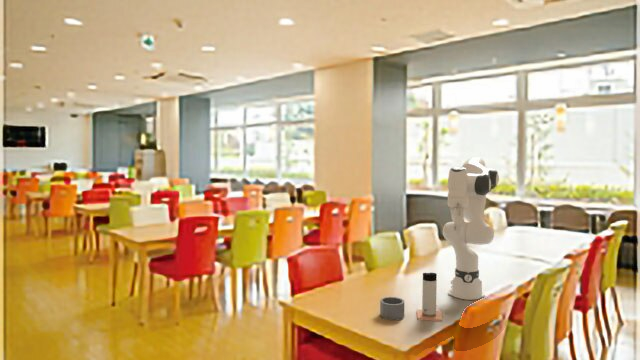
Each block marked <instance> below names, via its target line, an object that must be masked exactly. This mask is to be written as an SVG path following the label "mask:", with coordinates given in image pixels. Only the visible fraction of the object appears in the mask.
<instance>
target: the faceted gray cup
mask: <svg viewBox="0 0 640 360" xmlns="http://www.w3.org/2000/svg"><path fill="white" fill-rule="evenodd" d="M379 302H380V303H379V307H380V308H379V309H380V311H379V313H380V314H379V315H380V317H381V318H382V319H386V320H390V321H399V320H402V319H404V318H405V299H403V298H400V297H398V296H385V297H382V298H380V301H379Z"/></svg>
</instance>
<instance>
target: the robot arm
mask: <svg viewBox="0 0 640 360" xmlns="http://www.w3.org/2000/svg"><path fill="white" fill-rule="evenodd" d="M499 181H500V176H499V172H498V171H497V170H496V169H494V168H487V167H486V163H485V160H484V159H482V158H481V157H479V156H473V157H470V158H469V159H467V160H466V161H465V162H464V163H463V164H462V165H461V166H455V167H451V168H450V169H449V171H448V179H447V188H448V193H447V206H448V207H449V208H450V217H451V220H452V221H449V222H446V223H445V224H444V225H443V228H442V235H443V238H444V239H445V240H446V241H447V242H448V243H449V244H450V245H451V247H452V248H453V250H454V253H455V268H454V275H455V276H454V277H453V278H452V279H450V288H449V289H448V293H447V295H449V296H452V297H455V298H457V299H461V300H466V301H467V300H470V301H471V300H472V301H473V300H479V299H481V298H486V294H485V293H484V292H483V284H482V283H483V282H482V280H481V279H480V278H479V277H480V270H479V255H478V254H477V252H475V251H474V250H473V249H471V248H470V247H469V245H468V244H470V245H490V244H491V243H492V242H493V240H494V237H495V232H494V230H493V227H492V226H491V225H489V223H487V222H486V220H485V218H484V217H485V216H484V215H485V209H486V203H487V194H489V193H490V192H491V191H492V190H494V189H495V188H497V185H498V184H499ZM464 219H465V220H466V221H467V222H466V221H464Z"/></svg>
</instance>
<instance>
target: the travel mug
mask: <svg viewBox="0 0 640 360" xmlns="http://www.w3.org/2000/svg"><path fill="white" fill-rule="evenodd" d="M437 287H438V286H437V273H436V272H423V273H422V308H421V310H422V314H423V315H424V316H427V317H434V316H436V311H437Z"/></svg>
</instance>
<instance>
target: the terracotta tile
mask: <svg viewBox="0 0 640 360" xmlns="http://www.w3.org/2000/svg"><path fill="white" fill-rule="evenodd" d="M416 311H417V313H416V314H417V321H418V320H420V321H431V322H432V321H435V322H443V316H442V311H441V310H436V316H434V317H427V316H424V315H423V314H422V309H417V310H416Z"/></svg>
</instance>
